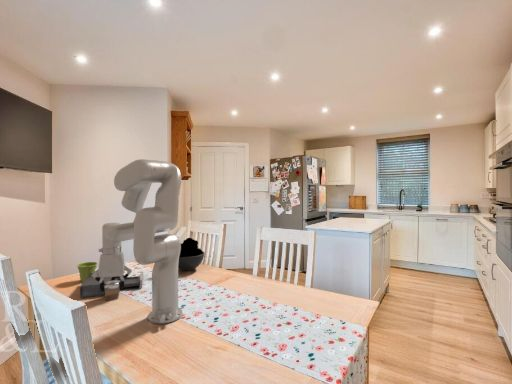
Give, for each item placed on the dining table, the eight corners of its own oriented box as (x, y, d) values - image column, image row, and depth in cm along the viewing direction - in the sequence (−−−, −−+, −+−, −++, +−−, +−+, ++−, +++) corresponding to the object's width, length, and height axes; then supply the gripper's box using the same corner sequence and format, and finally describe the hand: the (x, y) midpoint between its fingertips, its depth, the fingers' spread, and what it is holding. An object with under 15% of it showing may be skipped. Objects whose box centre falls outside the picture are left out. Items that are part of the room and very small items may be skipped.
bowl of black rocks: (206, 264, 176) (206, 235, 176) (202, 274, 156) (202, 241, 156) (174, 265, 175) (174, 236, 175) (166, 275, 155) (166, 242, 155)
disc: (120, 288, 122) (119, 284, 122) (102, 290, 120) (102, 286, 120) (121, 283, 129) (121, 279, 128) (104, 284, 126) (104, 281, 126)
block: (117, 298, 123) (117, 287, 123) (105, 300, 121) (105, 289, 121) (119, 294, 127) (119, 284, 127) (107, 296, 126) (107, 285, 126)
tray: (142, 287, 135) (141, 279, 135) (111, 291, 130) (111, 283, 130) (143, 279, 148) (143, 271, 148) (115, 282, 143) (115, 274, 143)
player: (117, 293, 128) (117, 282, 128) (80, 298, 123) (80, 286, 123) (122, 280, 147) (122, 270, 147) (90, 283, 142) (90, 273, 142)
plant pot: (101, 277, 151) (101, 262, 151) (89, 283, 142) (89, 267, 142) (85, 277, 152) (85, 261, 152) (72, 283, 143) (72, 266, 143)
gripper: (87, 254, 117) (88, 295, 118) (132, 250, 123) (132, 290, 123) (91, 250, 124) (92, 289, 125) (133, 247, 130) (134, 284, 131)
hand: (112, 289), depth 124 cm, fingers closed on disc, 7 cm apart
